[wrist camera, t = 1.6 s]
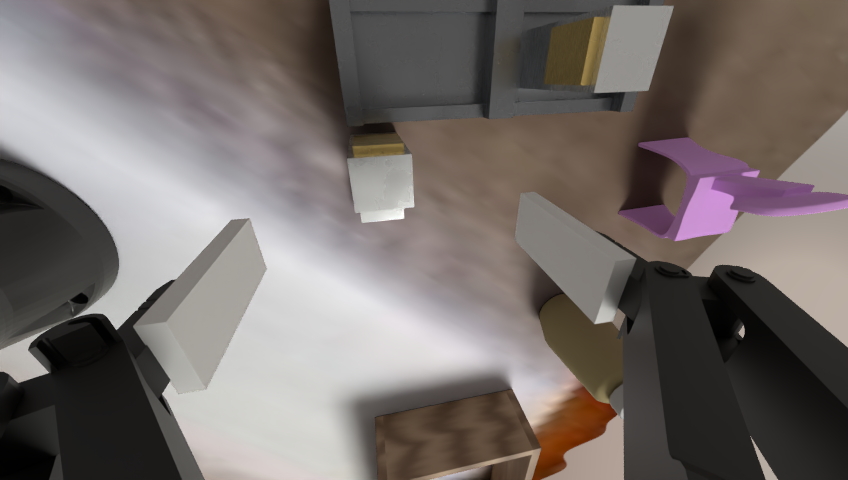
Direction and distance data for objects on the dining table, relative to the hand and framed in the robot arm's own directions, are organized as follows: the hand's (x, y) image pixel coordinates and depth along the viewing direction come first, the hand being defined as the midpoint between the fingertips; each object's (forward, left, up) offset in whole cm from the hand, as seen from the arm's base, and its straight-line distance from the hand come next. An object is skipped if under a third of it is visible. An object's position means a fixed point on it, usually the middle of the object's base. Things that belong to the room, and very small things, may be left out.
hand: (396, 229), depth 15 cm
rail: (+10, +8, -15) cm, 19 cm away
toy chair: (+31, -4, -15) cm, 34 cm away
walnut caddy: (+7, -54, -15) cm, 57 cm away
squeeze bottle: (+23, -22, -15) cm, 35 cm away
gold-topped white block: (0, -1, -15) cm, 15 cm away
